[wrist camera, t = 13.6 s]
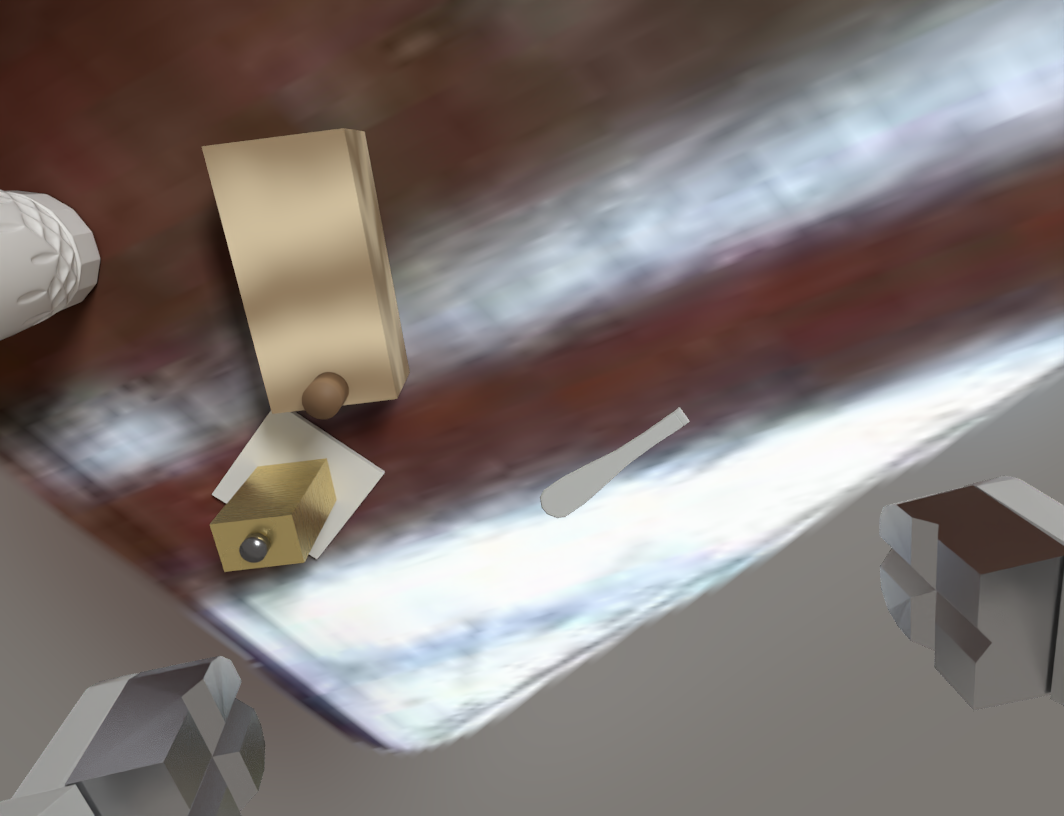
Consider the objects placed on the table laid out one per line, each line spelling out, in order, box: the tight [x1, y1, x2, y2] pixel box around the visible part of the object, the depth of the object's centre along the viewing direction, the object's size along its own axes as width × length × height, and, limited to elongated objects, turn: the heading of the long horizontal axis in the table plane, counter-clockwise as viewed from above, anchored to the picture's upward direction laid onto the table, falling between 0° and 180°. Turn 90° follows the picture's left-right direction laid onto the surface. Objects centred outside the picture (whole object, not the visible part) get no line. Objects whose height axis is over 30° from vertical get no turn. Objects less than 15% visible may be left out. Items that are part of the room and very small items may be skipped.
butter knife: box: [540, 407, 689, 518], centre depth 45 cm, size 1×24×3 cm
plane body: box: [202, 128, 410, 419], centre depth 38 cm, size 14×7×7 cm, turn 7°
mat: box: [212, 411, 385, 559], centre depth 46 cm, size 8×8×1 cm
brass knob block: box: [210, 458, 337, 572], centre depth 41 cm, size 3×4×8 cm, turn 97°
